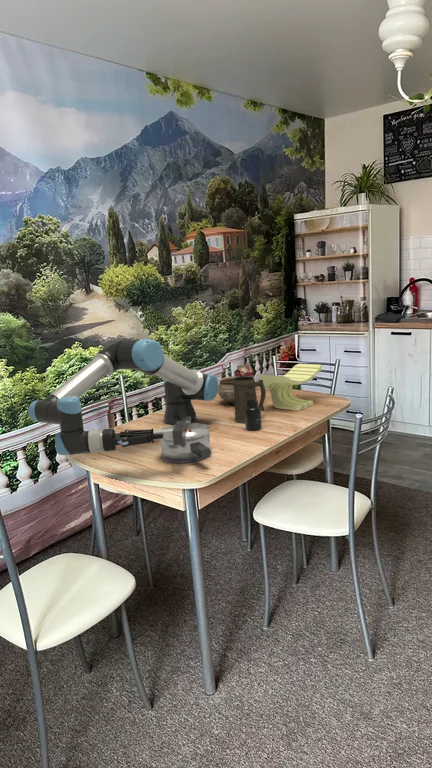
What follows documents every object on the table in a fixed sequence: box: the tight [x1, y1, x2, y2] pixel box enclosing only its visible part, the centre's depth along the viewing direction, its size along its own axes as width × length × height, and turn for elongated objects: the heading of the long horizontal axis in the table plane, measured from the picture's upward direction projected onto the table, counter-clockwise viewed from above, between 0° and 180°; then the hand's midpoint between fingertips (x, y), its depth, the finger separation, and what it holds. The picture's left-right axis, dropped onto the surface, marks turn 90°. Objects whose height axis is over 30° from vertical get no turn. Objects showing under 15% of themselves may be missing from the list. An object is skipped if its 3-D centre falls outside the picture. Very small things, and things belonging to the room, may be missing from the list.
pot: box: [160, 433, 212, 464], centre depth 197 cm, size 31×18×8 cm, turn 26°
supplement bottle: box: [244, 399, 262, 432], centre depth 226 cm, size 7×7×12 cm
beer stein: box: [233, 377, 267, 424], centre depth 241 cm, size 15×10×20 cm
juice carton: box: [233, 363, 255, 379], centre depth 259 cm, size 7×7×22 cm
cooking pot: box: [217, 375, 235, 405], centre depth 276 cm, size 25×19×12 cm
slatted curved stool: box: [257, 363, 322, 411], centre depth 259 cm, size 30×16×18 cm, turn 138°
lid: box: [160, 416, 211, 445], centre depth 195 cm, size 30×19×6 cm, turn 177°
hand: (172, 433), depth 184 cm, fingers closed
